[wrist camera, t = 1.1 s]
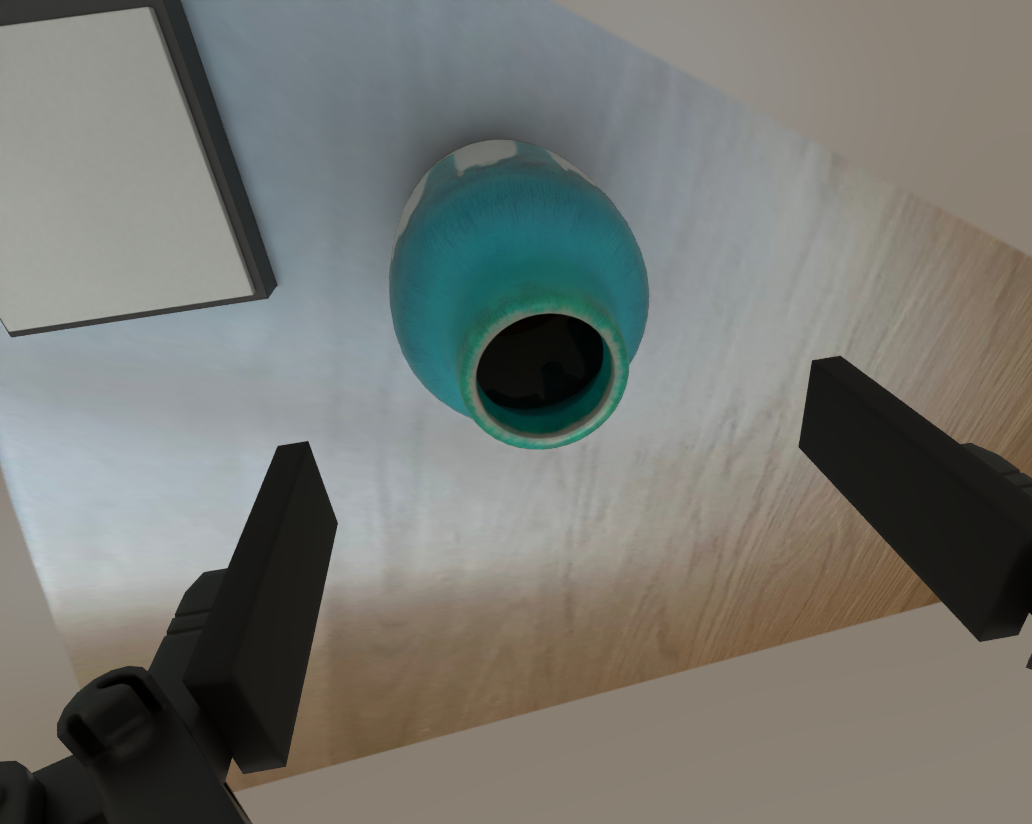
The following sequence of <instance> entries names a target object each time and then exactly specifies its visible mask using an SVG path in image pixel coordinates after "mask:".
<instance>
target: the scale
mask: <svg viewBox="0 0 1032 824" xmlns="http://www.w3.org/2000/svg"><path fill="white" fill-rule="evenodd" d="M276 286H277V284H276V281H275V278H274V275H273V272H272V269H271V266H270V263H269V260H268V257H267V254H266V251H265V248H264V245H263V242H262V240H261V237H260V234H259V231H258V228H257V225H256V222H255V219H254V216H253V213H252V210H251V207H250V204H249V201H248V198H247V195H246V192H245V190H244V187H243V184H242V181H241V178H240V175H239V172H238V169H237V166H236V163H235V160H234V157H233V154H232V151H231V148H230V145H229V142H228V139H227V137H226V134H225V131H224V128H223V125H222V122H221V119H220V116H219V113H218V110H217V107H216V104H215V101H214V98H213V95H212V92H211V89H210V87H209V84H208V81H207V78H206V75H205V72H204V69H203V66H202V63H201V60H200V57H199V54H198V51H197V48H196V45H195V42H194V39H193V37H192V34H191V31H190V28H189V25H188V22H187V19H186V16H185V13H184V10H183V7H182V4H181V1H180V0H0V320H1V322H2V323H3V325H4V327H5V328H6V330H7V331H8V333H9V335H10V336H11V337H17V336H24V335H30V334H37V333H43V332H50V331H57V330H63V329H70V328H76V327H83V326H90V325H96V324H103V323H109V322H116V321H122V320H129V319H136V318H142V317H149V316H155V315H162V314H169V313H175V312H182V311H188V310H195V309H202V308H208V307H215V306H221V305H228V304H235V303H241V302H248V301H254V300H261V299H268V298H269V296H270V295H271V293H272V292H273V291H274V289H275V288H276Z"/></svg>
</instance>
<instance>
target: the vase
mask: <svg viewBox="0 0 1032 824" xmlns="http://www.w3.org/2000/svg"><path fill="white" fill-rule="evenodd" d="M389 293H390V307H391V313H392V318H393V324H394V330H395V333H396V336H397V339H398V342H399V344H400V347H401V350H402V353H403V355H404V357H405V359H406V360H407V362H408V364H409V366H410V368H411V369H412V371H413V372H414V374H415V375H416V376H417V378H418V379H419V380H420V381H421V383H422V384H423V385H424V386H425V388H426V389H428V390H429V391H430V392H431V393H432V394H433V395H434V396H435V397H436V398H437V399H439V400H440V401H441V402H443V403H444V404H446V405H447V406H449V407H450V408H452V409H453V410H455V411H457V412H459V413H461V414H463V415H465V416H467V417H470V418H472V419H473V420H474V421H475V422H476V424H477V425H478V426H479V427H481V428H482V429H483V430H484V431H485V432H486V433H488V434H489V435H491V436H492V437H494V438H495V439H497V440H499V441H501V442H504V443H506V444H508V445H512V446H515V447H519V448H525V449H551V448H557V447H561V446H565V445H568V444H571V443H573V442H576V441H578V440H580V439H582V438H584V437H585V436H587V435H589V434H590V433H592V432H593V431H595V430H596V429H597V428H599V427H600V426H601V425H602V424H603V423H604V422H605V421H606V420H607V419H608V418H609V417H610V415H611V414H612V413H613V412H614V410H615V409H616V407H617V405H618V404H619V402H620V400H621V398H622V396H623V393H624V390H625V388H626V385H627V380H628V375H629V365H630V363H631V361H632V359H633V358H634V356H635V354H636V352H637V350H638V347H639V344H640V342H641V339H642V337H643V334H644V331H645V326H646V322H647V317H648V308H649V287H648V278H647V271H646V267H645V264H644V260H643V257H642V253H641V251H640V248H639V246H638V244H637V242H636V239H635V237H634V235H633V233H632V231H631V229H630V227H629V225H628V223H627V222H626V221H625V219H624V218H623V216H622V215H621V213H620V212H619V211H618V209H617V208H616V206H615V205H614V204H613V202H612V201H611V200H610V199H609V197H608V196H607V195H606V194H605V193H604V192H603V191H602V190H601V189H600V188H599V187H598V186H597V185H596V184H595V183H594V182H593V181H592V180H591V179H590V178H589V177H587V176H586V175H585V174H584V173H583V172H582V171H580V170H579V169H578V168H576V167H575V166H573V165H572V164H571V163H569V162H568V161H566V160H565V159H563V158H562V157H560V156H558V155H556V154H554V153H552V152H550V151H548V150H546V149H544V148H541V147H539V146H535V145H532V144H528V143H524V142H521V141H513V140H502V139H500V140H488V141H482V142H478V143H474V144H470V145H467V146H465V147H463V148H460V149H458V150H456V151H454V152H452V153H450V154H449V155H447V156H446V157H444V158H443V159H441V160H440V161H439V162H438V163H436V164H435V165H434V166H433V167H432V168H431V169H430V170H429V171H428V172H427V173H426V174H425V176H424V177H423V178H422V180H421V181H420V182H419V183H418V185H417V186H416V187H415V189H414V190H413V192H412V194H411V196H410V198H409V200H408V202H407V204H406V205H405V207H404V210H403V212H402V215H401V218H400V221H399V224H398V227H397V230H396V234H395V238H394V244H393V251H392V257H391V264H390V273H389Z"/></svg>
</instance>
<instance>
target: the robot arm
mask: <svg viewBox="0 0 1032 824" xmlns="http://www.w3.org/2000/svg"><path fill="white" fill-rule="evenodd" d="M799 448H800V449H801V450H802V451H803V452H804V453H805V454H806V456H807V457H808V458H809V459H810V460H811V461H812V462H813V463H814V464H815V465H816V466H817V467H818V468H819V470H820V471H821V472H822V473H823V474H824V475H825V476H826V477H827V478H828V479H829V480H830V481H831V482H832V484H833V485H834V486H835V487H836V488H837V489H838V490H839V491H840V492H841V493H842V494H843V495H844V496H845V498H846V499H847V500H848V501H849V502H850V503H851V504H852V505H853V506H854V507H855V508H856V509H857V510H858V512H859V513H860V514H861V515H862V516H863V517H864V518H865V519H866V520H867V521H868V522H869V523H870V524H871V526H872V527H873V528H874V529H875V530H876V531H877V532H878V533H879V534H880V535H881V536H882V537H883V538H884V540H885V541H886V542H887V543H888V544H889V545H890V546H891V547H892V548H893V549H894V550H895V551H896V552H897V554H898V555H899V556H900V557H901V558H902V559H903V560H904V561H905V562H906V563H907V564H908V565H909V566H910V568H911V569H912V570H913V571H914V572H915V573H916V574H917V575H918V576H919V577H920V578H921V579H922V581H923V582H924V583H925V584H926V585H927V586H928V587H929V588H930V589H931V590H932V591H933V592H934V593H935V595H936V596H937V597H938V598H939V599H940V600H941V601H942V602H943V603H944V604H945V605H946V606H947V607H948V608H949V610H950V611H951V612H952V613H953V614H954V615H955V616H956V617H957V618H958V619H959V620H960V621H961V622H962V624H963V625H964V626H965V627H966V628H967V629H968V630H969V631H970V632H971V633H972V634H973V635H974V637H975V638H976V639H977V640H978V641H979V642H982V641H988V640H993V639H999V638H1005V637H1010V636H1016V635H1019V632H1020V630H1021V628H1022V626H1023V624H1024V622H1025V620H1026V618H1027V616H1028V614H1029V613H1030V614H1031V615H1032V478H1030V477H1029V476H1028V475H1026V474H1025V473H1020V471H1019V469H1018V468H1016V467H1015V466H1013V465H1012V464H1011V463H1009V462H1008V461H1006V460H1005V459H1004V458H1002V457H1001V456H999V455H998V454H995V453H993V452H991V451H988V450H986V449H984V448H981V447H979V446H977V445H974V444H972V443H966V444H959V443H958V442H956V441H955V440H954V439H952V438H951V437H950V436H948V435H947V434H946V433H944V432H943V431H941V430H940V429H939V428H937V427H936V426H935V425H933V424H932V423H931V422H929V421H928V420H927V419H925V418H924V417H923V416H921V415H920V414H918V413H917V412H916V411H914V410H913V409H912V408H910V407H909V406H908V405H906V404H905V403H904V402H902V401H901V400H900V399H898V398H897V397H895V396H894V395H893V394H891V393H890V392H889V391H887V390H886V389H885V388H883V387H882V386H881V385H879V384H878V383H877V382H875V381H874V380H872V379H871V378H870V377H868V376H867V375H866V374H864V373H863V372H862V371H860V370H859V369H858V368H856V367H855V366H854V365H852V364H851V363H849V362H848V361H847V360H845V359H844V358H843V357H841V356H837V357H830V358H824V359H818V360H812V364H811V370H810V377H809V383H808V390H807V396H806V403H805V409H804V415H803V422H802V428H801V435H800V441H799ZM337 525H338V522H337V520H336V517H335V514H334V511H333V509H332V506H331V503H330V500H329V497H328V495H327V492H326V489H325V486H324V484H323V481H322V478H321V475H320V472H319V470H318V467H317V464H316V461H315V459H314V456H313V453H312V450H311V447H310V445H309V442H308V441H306V442H300V443H293V444H287V445H281V446H278V447H277V449H276V452H275V454H274V456H273V459H272V461H271V464H270V466H269V469H268V471H267V474H266V476H265V478H264V481H263V483H262V486H261V488H260V491H259V493H258V495H257V498H256V500H255V503H254V505H253V508H252V510H251V513H250V515H249V517H248V520H247V522H246V525H245V527H244V530H243V532H242V534H241V537H240V539H239V542H238V544H237V547H236V549H235V551H234V554H233V556H232V559H231V561H230V564H229V566H228V568H226V569H220V570H214V571H208V572H203V574H202V575H201V576H200V577H199V578H198V579H197V580H196V581H195V582H194V583H193V584H192V586H191V587H190V588H189V589H188V590H187V591H186V592H185V594H184V596H183V598H182V600H181V602H180V604H179V606H178V609H177V611H176V613H175V618H173V619H172V621H171V623H170V625H169V628H168V630H167V636H164V638H163V640H162V642H161V645H160V647H159V649H158V651H157V653H156V655H155V657H154V659H153V662H152V664H151V666H150V668H149V670H148V671H147V670H145V669H144V668H143V667H135V666H127V667H123V668H119V669H115V670H111V671H110V672H108V673H106V674H104V675H102V676H100V677H98V678H96V679H94V680H93V681H92V682H90V683H89V684H88V685H87V686H85V687H84V688H83V689H81V690H80V691H79V692H78V693H77V694H76V695H75V696H74V697H73V698H72V700H71V701H70V702H69V703H68V705H67V706H66V707H65V708H64V710H63V712H62V714H61V717H60V719H59V721H58V723H57V737H58V738H59V739H60V740H61V741H62V743H63V744H64V745H65V746H66V747H67V748H68V749H69V750H70V751H71V753H72V754H73V755H71V756H69V757H67V758H65V759H62V760H60V761H58V762H56V763H54V764H51V765H49V766H47V767H45V768H42V769H41V770H38V771H36V772H33V773H31V772H30V771H29V770H28V769H27V768H26V767H25V766H23V765H22V764H20V763H18V762H17V761H4V762H0V824H252V822H251V820H250V819H249V818H248V816H247V814H246V812H245V811H244V809H243V808H242V806H241V805H240V803H239V801H238V800H237V798H236V796H235V795H234V793H233V792H232V790H231V788H230V787H229V785H228V784H227V783H226V781H225V780H226V776H227V773H228V770H229V766H230V763H231V759H232V758H233V759H234V761H235V762H236V764H237V765H238V767H239V768H240V770H241V771H242V773H243V774H247V773H253V772H258V771H264V770H269V769H275V768H281V767H286V763H287V759H288V754H289V749H290V745H291V740H292V735H293V731H294V726H295V721H296V717H297V712H298V707H299V703H300V698H301V693H302V688H303V684H304V679H305V674H306V670H307V665H308V660H309V656H310V651H311V646H312V642H313V637H314V632H315V628H316V623H317V618H318V614H319V609H320V604H321V600H322V595H323V590H324V586H325V581H326V576H327V571H328V567H329V562H330V557H331V553H332V548H333V543H334V539H335V534H336V529H337ZM1026 668H1029V669H1032V654H1031V656H1030V658H1029V660H1028V663H1027V666H1026Z"/></svg>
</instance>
